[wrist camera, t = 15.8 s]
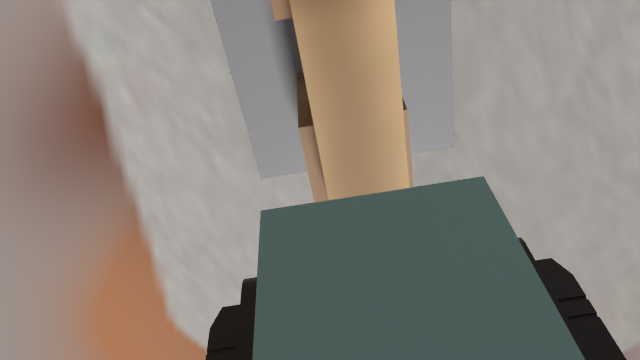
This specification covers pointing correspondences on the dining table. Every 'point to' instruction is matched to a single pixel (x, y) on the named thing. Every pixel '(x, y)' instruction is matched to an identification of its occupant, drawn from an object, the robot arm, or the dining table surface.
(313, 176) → the pillar
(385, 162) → the plank
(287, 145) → the board
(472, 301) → the cube
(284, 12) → the pillar
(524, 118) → the dining table surface
